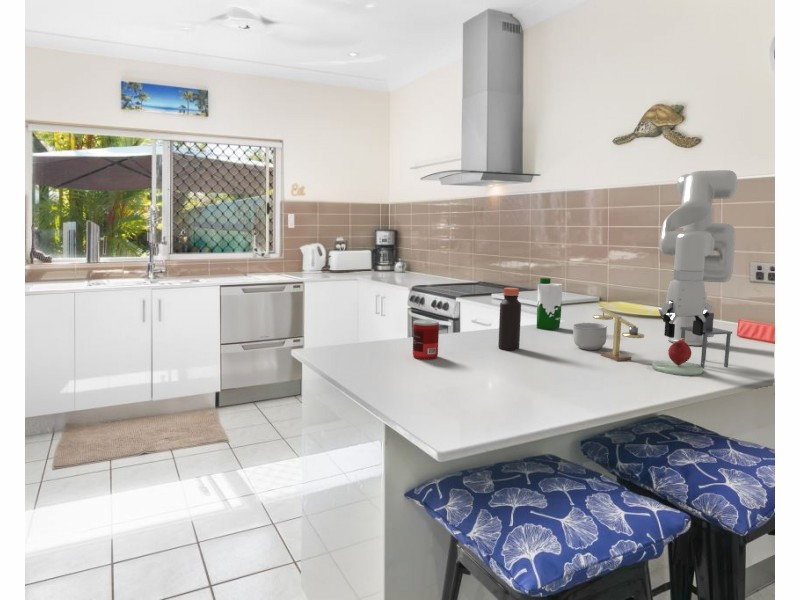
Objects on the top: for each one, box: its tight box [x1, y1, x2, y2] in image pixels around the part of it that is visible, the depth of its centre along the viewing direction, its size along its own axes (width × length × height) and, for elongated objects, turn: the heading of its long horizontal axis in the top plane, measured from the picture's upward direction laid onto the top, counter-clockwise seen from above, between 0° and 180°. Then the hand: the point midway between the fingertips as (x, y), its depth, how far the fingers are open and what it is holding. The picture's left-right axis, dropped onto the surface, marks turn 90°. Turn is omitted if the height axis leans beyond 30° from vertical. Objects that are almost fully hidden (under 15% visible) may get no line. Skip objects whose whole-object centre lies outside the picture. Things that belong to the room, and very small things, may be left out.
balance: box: [592, 307, 645, 362], centre depth 175 cm, size 21×6×15 cm, turn 16°
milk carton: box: [536, 277, 563, 331], centre depth 226 cm, size 9×9×20 cm
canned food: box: [412, 318, 440, 360], centre depth 172 cm, size 8×8×11 cm
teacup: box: [572, 322, 608, 351], centre depth 191 cm, size 14×11×8 cm
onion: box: [667, 338, 692, 365], centre depth 161 cm, size 6×6×8 cm
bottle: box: [497, 287, 522, 352], centre depth 185 cm, size 7×7×20 cm
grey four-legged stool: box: [680, 312, 733, 370], centre depth 168 cm, size 10×10×16 cm
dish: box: [652, 359, 704, 376], centre depth 162 cm, size 13×13×1 cm
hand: (683, 335), depth 162 cm, fingers open, 9 cm apart
